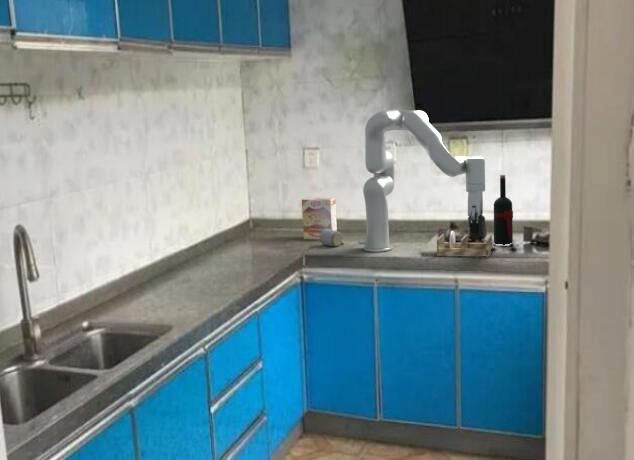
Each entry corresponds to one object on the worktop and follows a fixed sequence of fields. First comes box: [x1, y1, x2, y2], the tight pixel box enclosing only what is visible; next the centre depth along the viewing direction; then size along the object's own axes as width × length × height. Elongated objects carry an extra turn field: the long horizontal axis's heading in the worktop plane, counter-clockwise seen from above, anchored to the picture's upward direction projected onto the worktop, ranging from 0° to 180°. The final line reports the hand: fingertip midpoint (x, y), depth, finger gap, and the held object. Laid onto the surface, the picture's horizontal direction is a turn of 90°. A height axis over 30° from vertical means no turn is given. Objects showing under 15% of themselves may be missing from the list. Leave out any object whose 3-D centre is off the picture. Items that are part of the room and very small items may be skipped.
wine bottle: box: [493, 174, 514, 245], centre depth 304 cm, size 8×10×30 cm
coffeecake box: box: [301, 197, 338, 240], centre depth 342 cm, size 15×7×20 cm, turn 67°
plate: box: [449, 230, 456, 248], centre depth 296 cm, size 1×9×9 cm, turn 160°
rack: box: [436, 233, 493, 257], centre depth 294 cm, size 20×12×7 cm, turn 69°
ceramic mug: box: [320, 229, 345, 248], centre depth 325 cm, size 11×8×8 cm
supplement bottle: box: [467, 210, 486, 241], centre depth 291 cm, size 7×7×12 cm
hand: (476, 230), depth 291 cm, fingers closed on supplement bottle, 6 cm apart
